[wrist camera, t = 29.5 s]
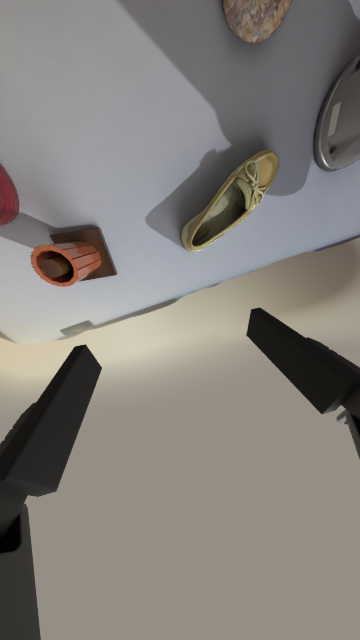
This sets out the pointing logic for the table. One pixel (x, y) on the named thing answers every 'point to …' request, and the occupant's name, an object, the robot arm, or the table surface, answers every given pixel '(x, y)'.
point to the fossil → (255, 18)
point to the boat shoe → (232, 201)
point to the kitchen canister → (7, 198)
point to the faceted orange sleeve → (78, 255)
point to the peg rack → (63, 265)
